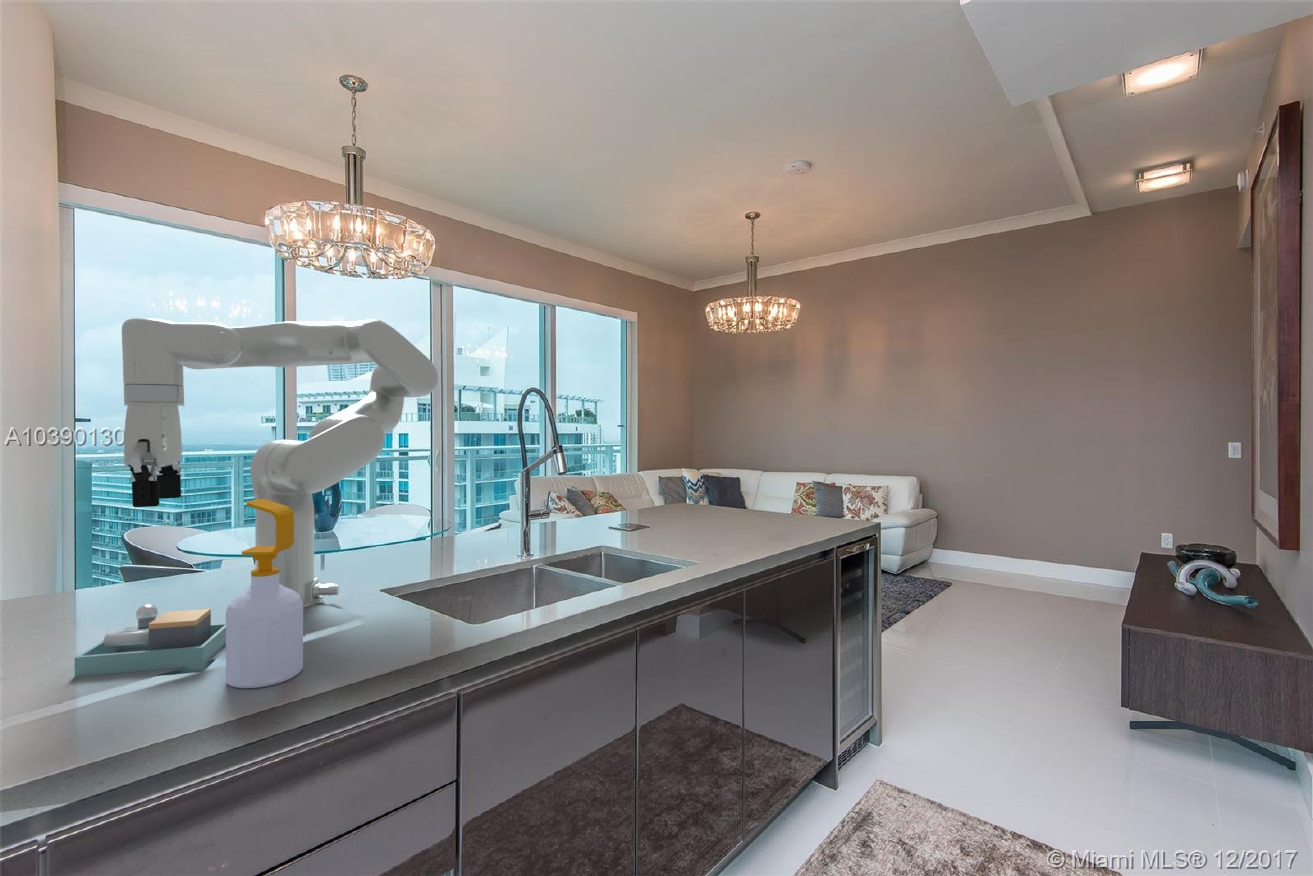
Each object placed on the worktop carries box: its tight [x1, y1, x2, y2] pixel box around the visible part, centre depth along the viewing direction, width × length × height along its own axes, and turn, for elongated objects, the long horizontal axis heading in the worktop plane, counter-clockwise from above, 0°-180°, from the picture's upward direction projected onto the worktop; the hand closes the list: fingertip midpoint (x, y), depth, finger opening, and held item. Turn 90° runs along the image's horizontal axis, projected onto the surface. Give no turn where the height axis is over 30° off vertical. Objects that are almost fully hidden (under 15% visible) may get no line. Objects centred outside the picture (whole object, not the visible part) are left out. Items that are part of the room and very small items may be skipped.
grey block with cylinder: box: [103, 608, 212, 650], centre depth 88 cm, size 12×6×6 cm, turn 108°
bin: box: [73, 622, 226, 677], centre depth 89 cm, size 15×11×4 cm
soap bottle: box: [225, 499, 304, 689], centre depth 85 cm, size 9×9×25 cm
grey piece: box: [122, 603, 159, 631], centre depth 97 cm, size 9×9×6 cm
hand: (158, 502), depth 99 cm, fingers open, 9 cm apart
